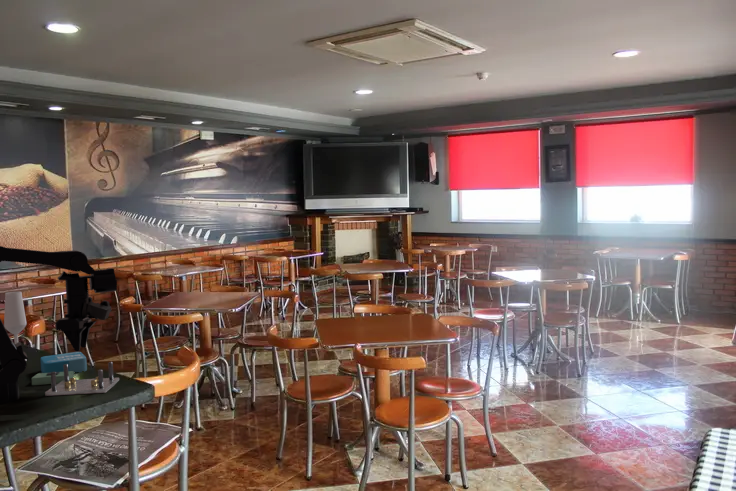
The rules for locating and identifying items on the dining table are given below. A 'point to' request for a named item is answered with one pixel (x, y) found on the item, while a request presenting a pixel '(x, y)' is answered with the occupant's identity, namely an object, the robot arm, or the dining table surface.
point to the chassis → (82, 383)
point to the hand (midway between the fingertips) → (80, 349)
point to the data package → (63, 362)
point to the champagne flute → (14, 314)
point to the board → (49, 378)
